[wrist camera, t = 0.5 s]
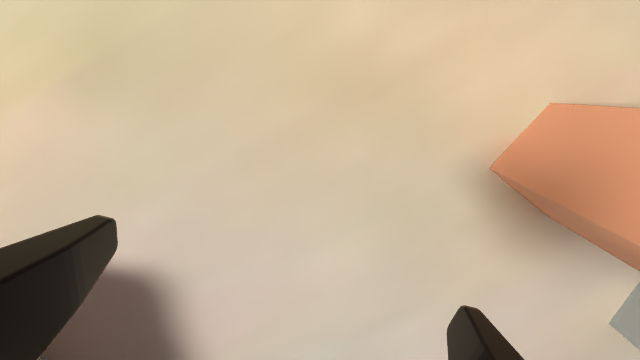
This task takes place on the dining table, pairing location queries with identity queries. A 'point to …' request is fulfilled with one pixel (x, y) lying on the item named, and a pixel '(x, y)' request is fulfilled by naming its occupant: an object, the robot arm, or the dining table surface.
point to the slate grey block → (629, 318)
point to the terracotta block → (582, 173)
